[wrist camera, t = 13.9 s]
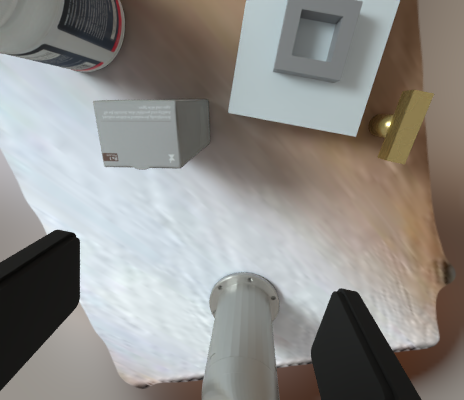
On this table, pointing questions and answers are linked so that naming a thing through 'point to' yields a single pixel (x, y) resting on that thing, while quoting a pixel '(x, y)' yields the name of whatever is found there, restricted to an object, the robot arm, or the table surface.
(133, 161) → the skincare box
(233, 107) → the box
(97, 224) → the table surface
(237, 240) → the table surface
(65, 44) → the supplement tub
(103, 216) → the table surface
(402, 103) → the t key
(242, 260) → the table surface
